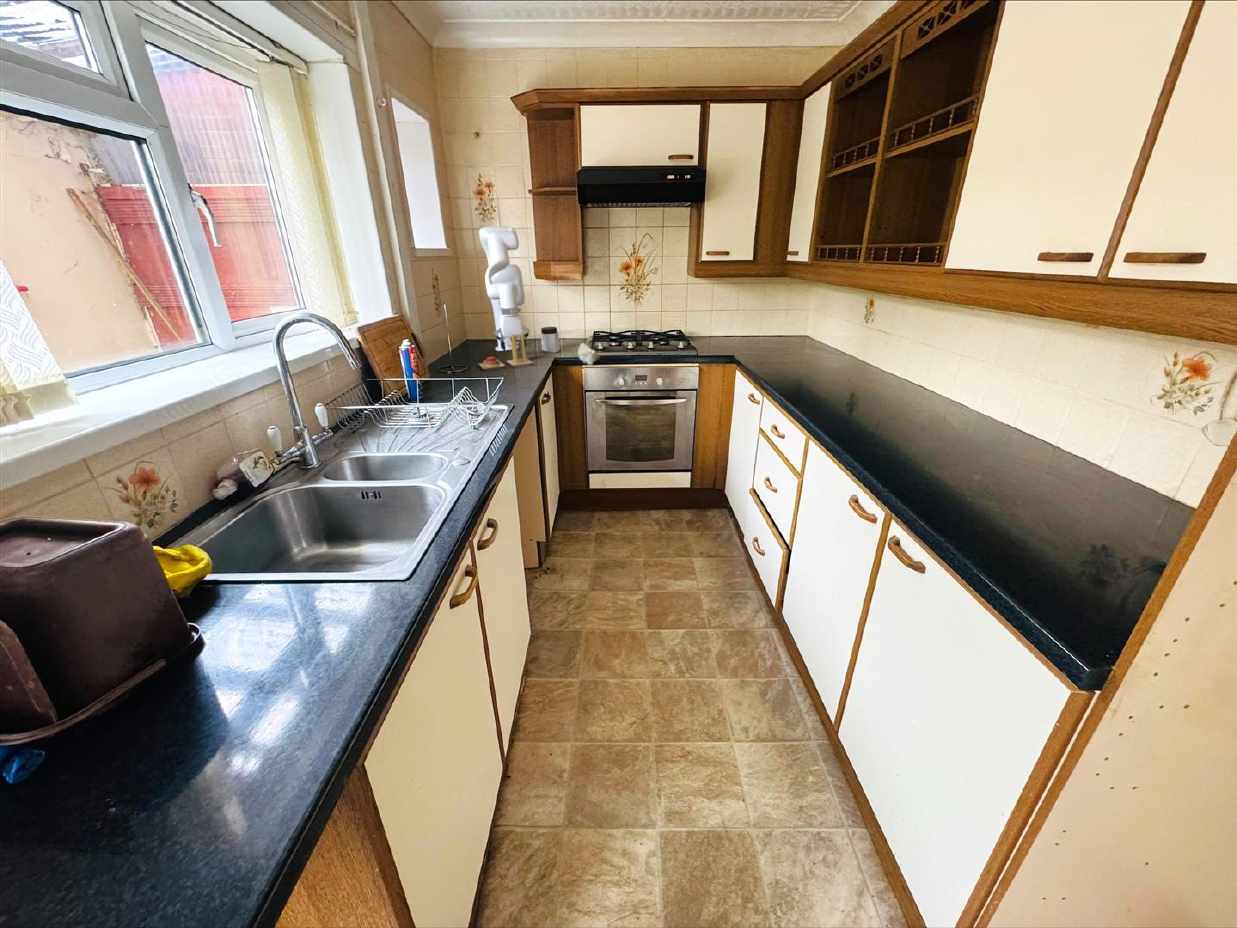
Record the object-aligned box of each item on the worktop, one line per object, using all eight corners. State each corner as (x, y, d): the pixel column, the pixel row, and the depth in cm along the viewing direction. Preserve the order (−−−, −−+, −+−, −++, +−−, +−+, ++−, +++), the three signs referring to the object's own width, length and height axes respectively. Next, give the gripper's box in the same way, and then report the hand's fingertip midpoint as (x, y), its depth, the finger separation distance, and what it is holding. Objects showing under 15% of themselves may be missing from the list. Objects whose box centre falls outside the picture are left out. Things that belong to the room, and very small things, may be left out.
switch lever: (508, 347, 242) (507, 342, 241) (518, 346, 243) (517, 341, 243) (513, 340, 230) (511, 335, 230) (523, 339, 232) (522, 334, 232)
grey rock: (582, 363, 243) (565, 348, 230) (592, 351, 242) (575, 335, 230) (602, 378, 234) (585, 363, 222) (612, 365, 234) (596, 349, 221)
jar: (548, 349, 268) (545, 326, 264) (561, 350, 266) (560, 326, 261) (539, 353, 261) (537, 329, 256) (554, 353, 258) (552, 329, 253)
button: (485, 361, 233) (485, 357, 232) (494, 360, 235) (494, 356, 234) (487, 363, 230) (487, 359, 229) (496, 361, 231) (496, 358, 231)
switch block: (478, 366, 236) (477, 359, 235) (499, 363, 240) (499, 357, 239) (483, 371, 226) (482, 364, 225) (505, 368, 230) (505, 361, 229)
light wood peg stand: (506, 363, 240) (502, 333, 235) (527, 360, 244) (523, 331, 239) (512, 367, 230) (509, 337, 225) (534, 365, 234) (531, 334, 229)
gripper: (525, 309, 242) (529, 345, 249) (489, 312, 236) (494, 349, 242) (530, 311, 236) (533, 348, 243) (492, 314, 229) (497, 352, 236)
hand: (513, 348), depth 243 cm, fingers open, 9 cm apart
